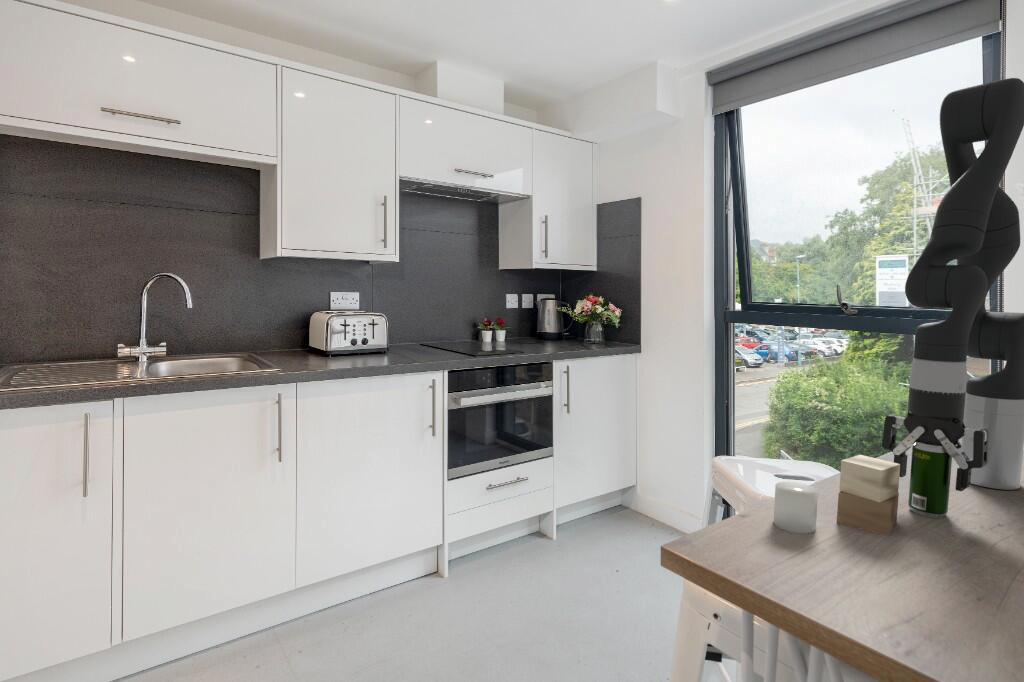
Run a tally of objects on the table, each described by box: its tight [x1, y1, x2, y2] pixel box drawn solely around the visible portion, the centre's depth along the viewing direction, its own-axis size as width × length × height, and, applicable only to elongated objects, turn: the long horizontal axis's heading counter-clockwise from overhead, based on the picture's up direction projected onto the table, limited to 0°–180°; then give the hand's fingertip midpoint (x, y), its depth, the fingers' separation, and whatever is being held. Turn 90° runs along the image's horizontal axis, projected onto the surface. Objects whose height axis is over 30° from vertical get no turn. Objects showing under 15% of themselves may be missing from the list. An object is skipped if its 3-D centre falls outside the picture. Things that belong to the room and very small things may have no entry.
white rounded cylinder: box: [773, 481, 819, 534], centre depth 90 cm, size 6×6×6 cm
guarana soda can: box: [907, 441, 953, 519], centre depth 96 cm, size 5×5×12 cm
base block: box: [836, 491, 900, 536], centre depth 91 cm, size 7×7×5 cm
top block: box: [839, 454, 900, 502], centre depth 91 cm, size 6×6×5 cm
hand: (929, 482), depth 96 cm, fingers open, 8 cm apart
